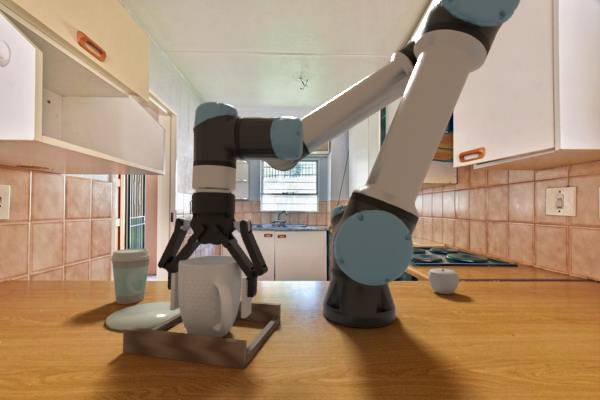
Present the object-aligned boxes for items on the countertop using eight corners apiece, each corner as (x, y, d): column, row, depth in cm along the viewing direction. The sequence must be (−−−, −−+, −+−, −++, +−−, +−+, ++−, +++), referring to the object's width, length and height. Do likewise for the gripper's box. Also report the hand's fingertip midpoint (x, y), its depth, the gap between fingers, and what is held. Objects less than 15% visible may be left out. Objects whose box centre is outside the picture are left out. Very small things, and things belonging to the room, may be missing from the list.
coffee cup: (121, 308, 65) (122, 254, 66) (102, 301, 70) (103, 251, 70) (157, 298, 73) (158, 249, 73) (138, 293, 77) (139, 247, 78)
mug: (260, 345, 48) (261, 265, 49) (190, 364, 42) (192, 272, 43) (228, 317, 61) (229, 253, 61) (171, 328, 55) (172, 258, 55)
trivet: (201, 307, 66) (201, 305, 66) (155, 335, 52) (155, 331, 52) (144, 302, 70) (144, 299, 70) (85, 326, 55) (85, 323, 55)
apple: (462, 292, 81) (462, 268, 81) (456, 298, 75) (456, 272, 75) (431, 287, 86) (431, 264, 86) (423, 293, 80) (423, 268, 80)
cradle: (280, 321, 59) (280, 303, 59) (243, 369, 41) (243, 343, 41) (190, 312, 63) (191, 296, 63) (122, 352, 46) (123, 329, 46)
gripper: (286, 193, 54) (284, 311, 53) (167, 192, 59) (163, 299, 59) (273, 191, 47) (270, 327, 46) (139, 190, 52) (134, 311, 51)
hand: (210, 311), depth 52 cm, fingers open, 13 cm apart
